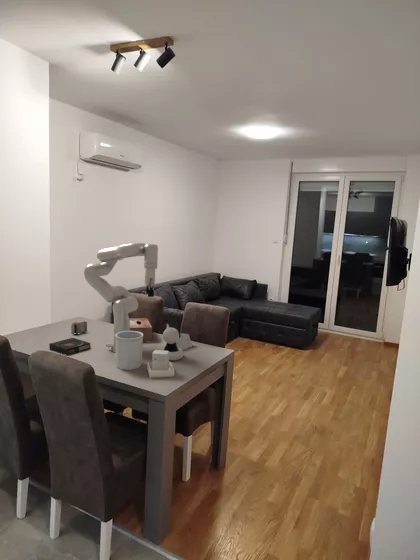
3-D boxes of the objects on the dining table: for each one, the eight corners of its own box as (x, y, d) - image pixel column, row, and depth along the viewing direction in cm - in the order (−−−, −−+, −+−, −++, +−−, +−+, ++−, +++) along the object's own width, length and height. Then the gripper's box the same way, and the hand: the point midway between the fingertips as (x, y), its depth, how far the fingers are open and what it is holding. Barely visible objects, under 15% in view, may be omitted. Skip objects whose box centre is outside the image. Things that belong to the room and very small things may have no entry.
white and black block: (176, 352, 229) (173, 336, 229) (171, 352, 232) (167, 337, 232) (193, 346, 242) (190, 331, 243) (188, 347, 245) (185, 332, 246)
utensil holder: (136, 371, 194) (137, 339, 192) (110, 368, 197) (110, 336, 195) (146, 362, 209) (147, 332, 206) (121, 359, 211) (122, 329, 209)
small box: (168, 369, 197) (169, 350, 196) (166, 373, 192) (167, 354, 190) (153, 368, 197) (154, 349, 196) (151, 372, 192) (152, 353, 191)
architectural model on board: (74, 336, 252) (74, 322, 251) (71, 335, 253) (71, 321, 252) (87, 332, 262) (87, 319, 261) (84, 331, 263) (84, 318, 262)
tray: (149, 378, 187) (149, 371, 186) (146, 369, 199) (147, 362, 198) (174, 376, 190) (174, 370, 190) (170, 367, 202) (170, 361, 202)
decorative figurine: (188, 358, 219) (190, 325, 216) (168, 363, 209) (170, 329, 206) (173, 351, 229) (174, 320, 227) (153, 356, 219) (154, 323, 217)
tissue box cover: (126, 332, 268) (126, 318, 266) (146, 331, 272) (146, 318, 271) (129, 342, 243) (129, 327, 242) (151, 341, 248) (152, 327, 246)
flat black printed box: (67, 356, 213) (67, 349, 213) (49, 350, 222) (49, 343, 222) (90, 349, 227) (90, 343, 226) (72, 343, 236) (72, 337, 236)
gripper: (142, 264, 221) (142, 292, 223) (145, 267, 204) (144, 297, 206) (155, 264, 223) (154, 292, 225) (159, 267, 206) (158, 297, 208)
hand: (149, 295), depth 216 cm, fingers open, 9 cm apart
